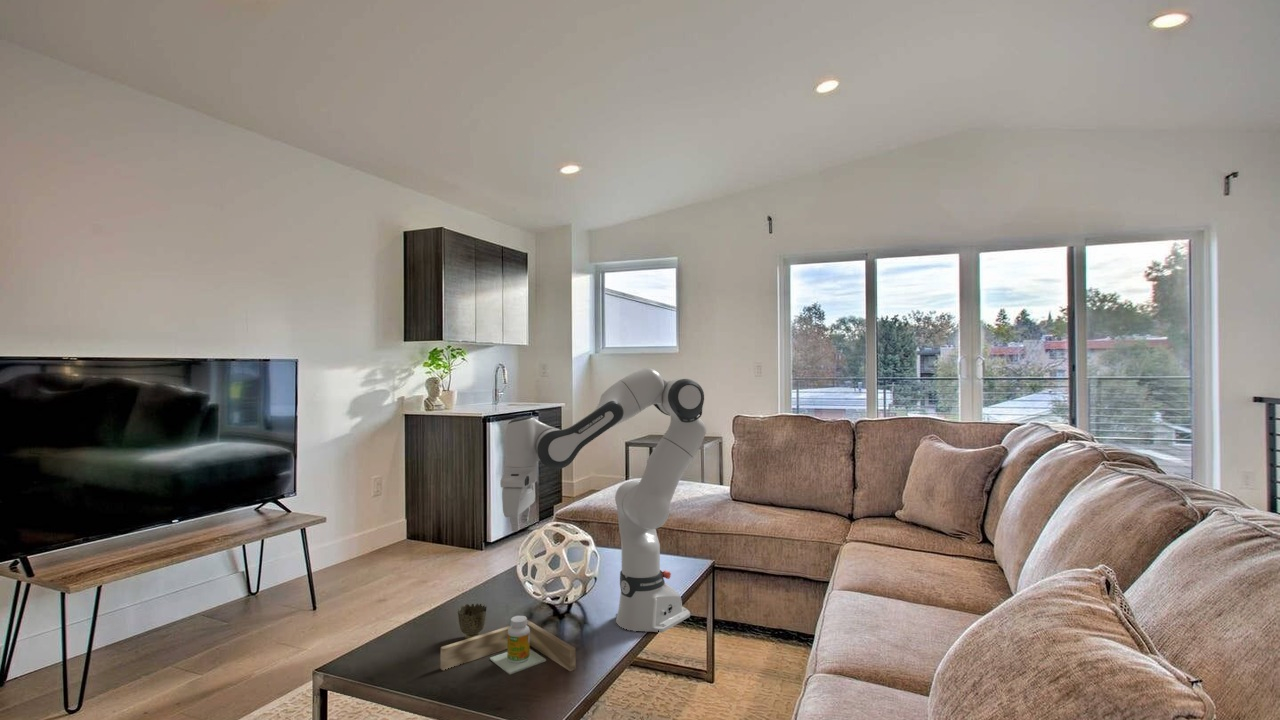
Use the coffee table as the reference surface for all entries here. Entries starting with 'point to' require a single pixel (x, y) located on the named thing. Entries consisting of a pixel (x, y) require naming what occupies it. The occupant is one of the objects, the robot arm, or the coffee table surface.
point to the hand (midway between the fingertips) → (520, 526)
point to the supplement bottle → (518, 640)
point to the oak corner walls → (499, 641)
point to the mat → (515, 667)
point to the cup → (472, 619)
